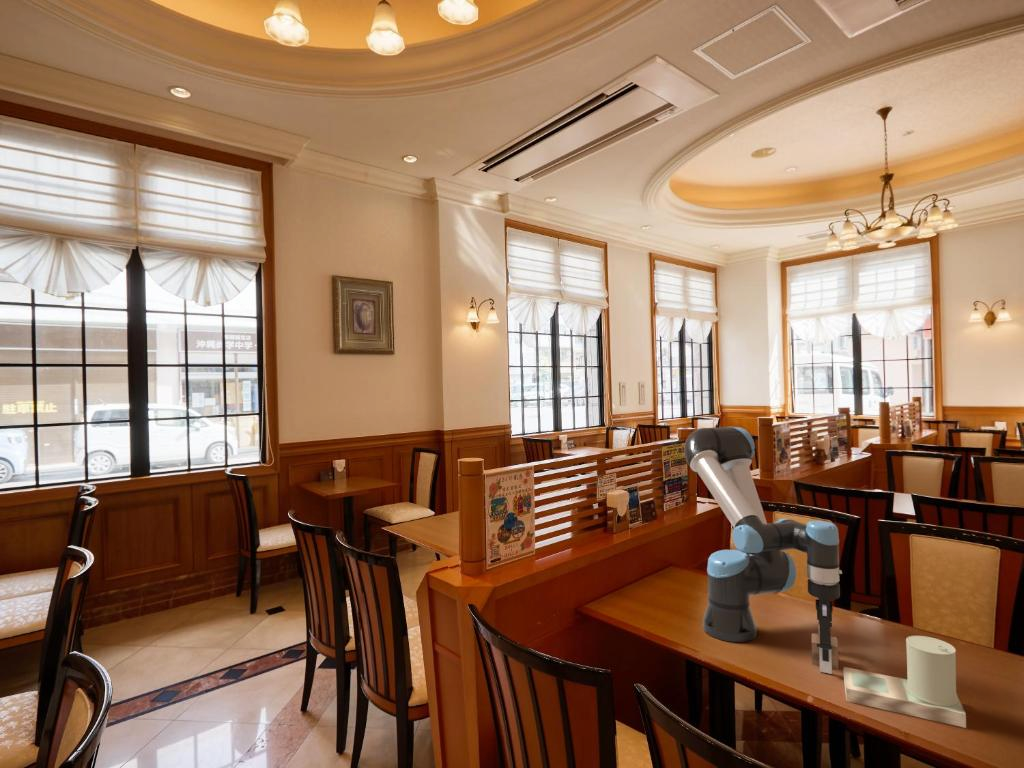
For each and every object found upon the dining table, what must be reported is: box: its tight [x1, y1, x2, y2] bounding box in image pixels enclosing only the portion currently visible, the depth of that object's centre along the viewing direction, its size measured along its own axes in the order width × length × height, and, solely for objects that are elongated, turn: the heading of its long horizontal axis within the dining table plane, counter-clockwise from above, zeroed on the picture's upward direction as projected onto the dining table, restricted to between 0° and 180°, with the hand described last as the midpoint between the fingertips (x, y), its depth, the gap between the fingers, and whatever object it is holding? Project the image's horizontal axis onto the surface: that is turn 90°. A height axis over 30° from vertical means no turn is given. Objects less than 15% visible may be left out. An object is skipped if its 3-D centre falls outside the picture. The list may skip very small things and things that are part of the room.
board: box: [843, 666, 967, 729], centre depth 127 cm, size 22×11×3 cm, turn 61°
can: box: [905, 635, 958, 706], centre depth 124 cm, size 9×9×12 cm
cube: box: [811, 632, 839, 671], centre depth 146 cm, size 6×6×6 cm
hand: (825, 661), depth 145 cm, fingers open, 12 cm apart
